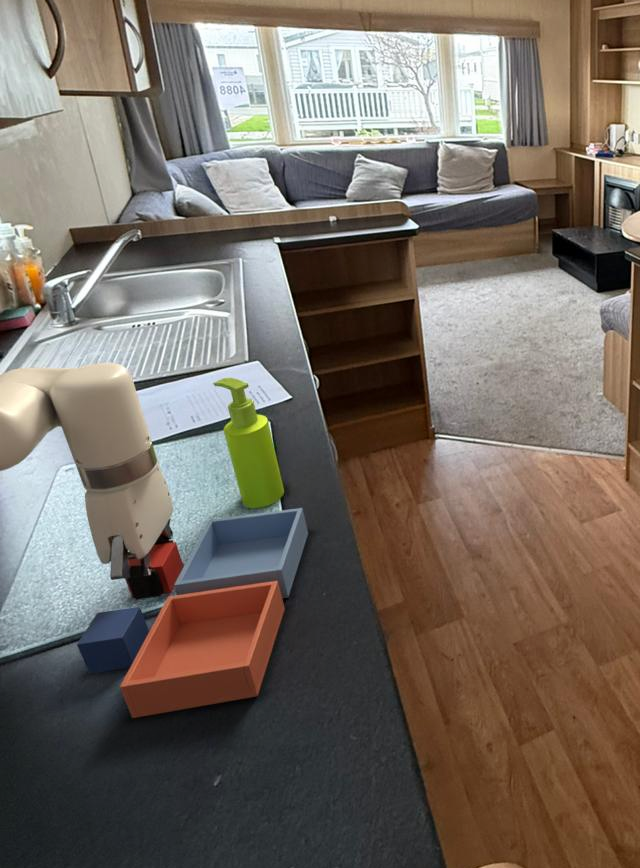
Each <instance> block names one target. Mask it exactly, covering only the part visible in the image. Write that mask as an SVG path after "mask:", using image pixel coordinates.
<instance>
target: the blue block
mask: <svg viewBox="0 0 640 868" xmlns="http://www.w3.org/2000/svg"><path fill="white" fill-rule="evenodd" d="M149 631H150V629H149V627H148V624H147V621H146V619H145V616H144V613H143V611H142V608H141V606H134V607H133V606H132V607H128V608H126V607H125V608H120V609H114V610H105V611H99V612H97V613H96V614H95V615H94V617H93V618H92V620H91V622H90V624H89V625H88V626H87V628H86V629H85V631H84V633H83V634H82V636H81V637H80V638H79V640H78V641H77V643H76V647H77V649H78V650H79V653H80V656H81V658H82V660H83V663H84V665H85V668H86V669H87V672H88V675H90V674H95V673H102V672H108V671H109V672H110V671H115V670H122V669H128V668H130V667H131V665H132V663H133V661H134V659H135V658H136V656H137V654H138V652H139V650H140V648H141V646H142V644H143V643H144V641H145V639H146V637H147V635H148V633H149Z"/></svg>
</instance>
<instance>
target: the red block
mask: <svg viewBox="0 0 640 868" xmlns="http://www.w3.org/2000/svg"><path fill="white" fill-rule="evenodd" d="M149 554H150V560H151V566H152V569H156V570H157V573H158V576H159V579H160V582H161V585H162V588H163V591H164V592H163V594H162V595H163V596H164V595H169V594H172V592H173V591H174V589H175V586H174V584H175V583H176V581H177V579H178V577H179V575H180V573H181V571H182V569H183V568H184V566H185V565H184V563H183V560H182V557H181V553H180V550H179V548H178V543H177V541H173V543H166V544H158V545H153V547H152V548H151V550H150V551H149ZM130 561H131V566H134V565H139V566H141V561H140V559H130ZM124 580H125V583H126V586H127V588H128V591H129V595H130V597H131V599H132V600H133V599H134V597H133V594H132V591H131V589H130V586H129V583H128V580H127V579H124ZM162 595H161V596H162ZM134 600H135V599H134Z"/></svg>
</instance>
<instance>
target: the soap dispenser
mask: <svg viewBox="0 0 640 868" xmlns="http://www.w3.org/2000/svg"><path fill="white" fill-rule="evenodd" d="M212 384H213V386H214V387H221V388H224V389H227V390H229V391H230V394H231V398H232V401H231V402H230V403H229V404H227V410H228V414H229V417H230V421H229V422H227V423H226V424H225V425H224V427H223V434H224V437H225V442H226V445H227V448H228V452H229V457H230V460H231V463H232V468H233V471H234V475H235V479H236V482H237V487H238V490H239V495H240V498H241V501H242V502H241V503H242V504H243V506H245V507H246V508H250V509H260V508H266V507H268V506H271V505H273V504H274V503H276V502H278V501H279V500H280V499H282V497H283V496H284V494H285V488H284V484H283V480H282V475H281V471H280V467H279V462H278V458H277V454H276V450H275V445H274V441H273V438H272V437H273V436H272V432H271V429H270V424H269V420H268V417H266V415H263V414H259V413H258V414H257V410H256V406H255V401H254V400H253V399H252V398H247V396H246V392H245V390H246V389H248V388H249V387H250V386H249V383H247V382H246V381H243V380H240V379H238V378H234V377H224V378H222V379H220V380H217V381H215V382H213V383H212Z"/></svg>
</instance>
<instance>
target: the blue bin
mask: <svg viewBox="0 0 640 868" xmlns="http://www.w3.org/2000/svg"><path fill="white" fill-rule="evenodd" d="M308 536H309V531H308V527H307V522H306V518H305V513H304V509H303V507H298V508H292V509H282V510H276V511H275V510H274V511H267V512H259V513H251V514H244V515H235V516H228V517H220V518H213V519H211V518H210V519H208V521H207V522H206V525H205V526H204V528H203V530H202V532H201V534H200V535H199V538H198V539H197V541H196V543H195V545H194V547H193V549H192V551H191V553H190V555H189V556H188V558H187V559H186V562H185V564H184V565H183V566H184V568H183V569H182V571H181V573H180V575H179V577H178V579H177V581H176V583H175V584H174V586H175V587H174V589H175V592H176V595H182V594H189V593H196V592H203V591H210V590H217V589H224V588H230V587H237V586H244V585H251V584H258V583H265V582H273V581H278V584H279V588H280V592H281V596H282V599H288V598H289V596H290V594H291V590H292V587H293V583H294V580H295V577H296V574H297V571H298V568H299V564H300V562H301V558H302V555H303V551H304V548H305V546H306V542H307V539H308Z"/></svg>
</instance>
